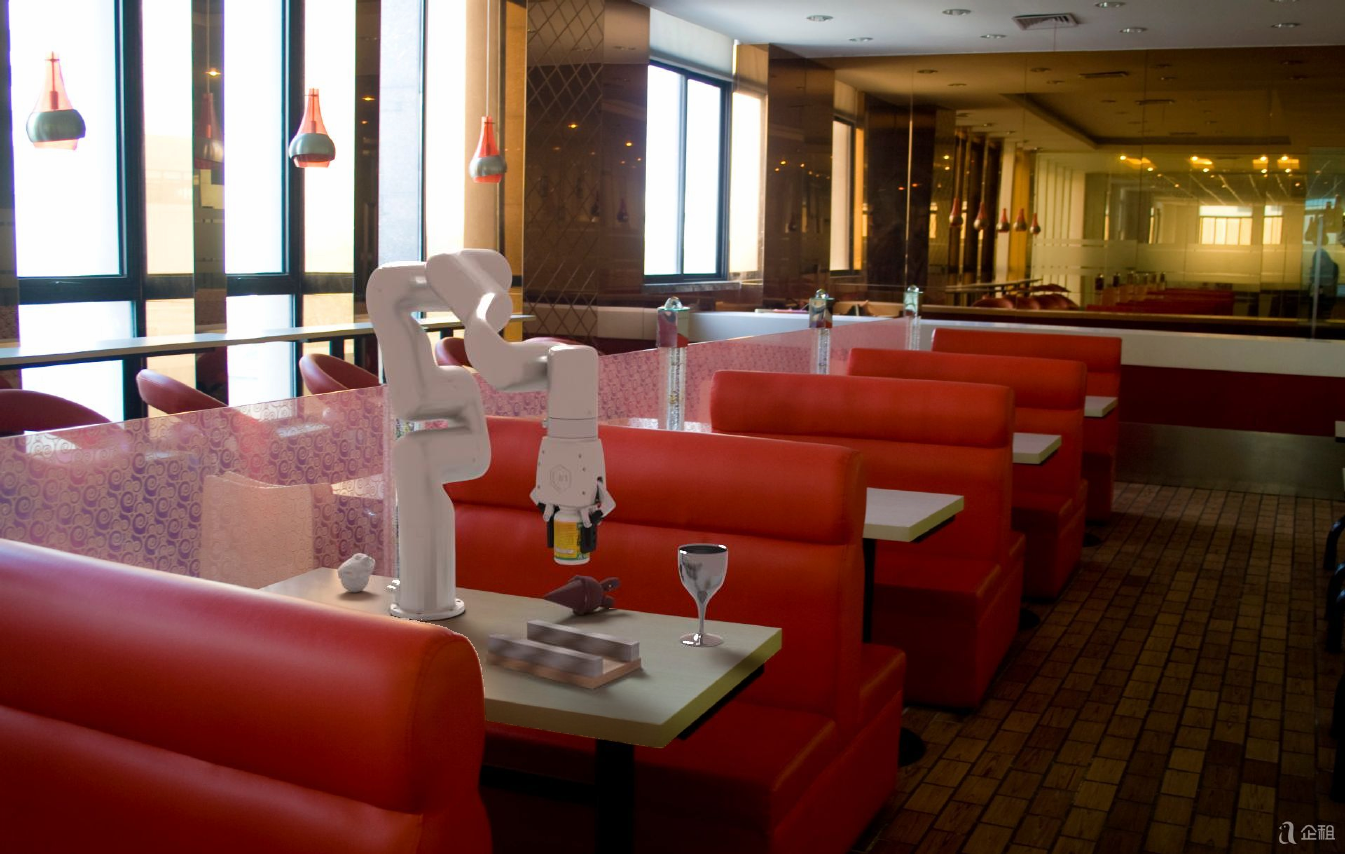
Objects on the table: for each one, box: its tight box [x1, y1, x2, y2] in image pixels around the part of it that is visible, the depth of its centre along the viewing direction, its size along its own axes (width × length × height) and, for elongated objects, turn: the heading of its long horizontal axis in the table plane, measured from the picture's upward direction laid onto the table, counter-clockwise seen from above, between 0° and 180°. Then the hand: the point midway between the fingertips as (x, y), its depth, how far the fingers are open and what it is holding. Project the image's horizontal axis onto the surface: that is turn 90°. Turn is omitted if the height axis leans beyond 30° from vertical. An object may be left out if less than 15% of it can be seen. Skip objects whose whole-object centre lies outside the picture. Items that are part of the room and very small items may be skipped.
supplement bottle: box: [553, 506, 591, 566], centre depth 179 cm, size 5×5×10 cm
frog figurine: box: [337, 552, 376, 593], centre depth 219 cm, size 6×7×7 cm
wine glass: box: [677, 542, 729, 648], centre depth 192 cm, size 8×8×15 cm
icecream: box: [542, 574, 621, 617], centre depth 207 cm, size 7×7×15 cm
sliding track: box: [485, 619, 642, 690], centre depth 179 cm, size 20×12×4 cm, turn 57°
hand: (571, 548), depth 179 cm, fingers closed on supplement bottle, 5 cm apart
